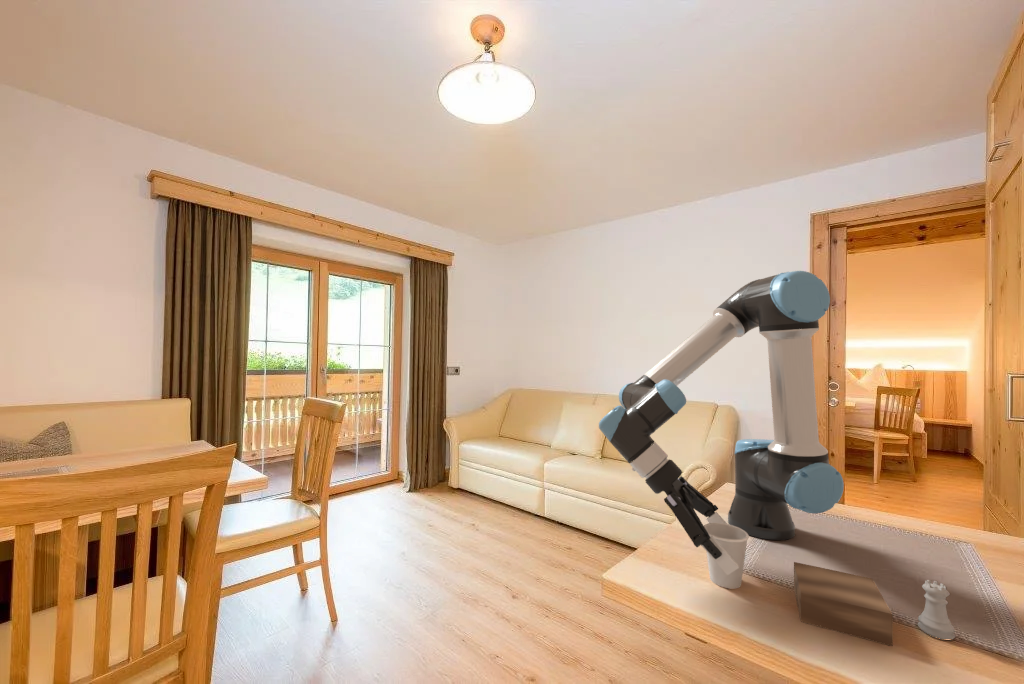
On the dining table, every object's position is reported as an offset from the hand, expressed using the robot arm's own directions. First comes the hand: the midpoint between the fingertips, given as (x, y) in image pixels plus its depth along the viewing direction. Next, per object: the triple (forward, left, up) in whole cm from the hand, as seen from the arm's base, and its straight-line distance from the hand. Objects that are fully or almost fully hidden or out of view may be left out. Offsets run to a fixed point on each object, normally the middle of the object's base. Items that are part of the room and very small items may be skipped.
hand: (734, 555), depth 84 cm
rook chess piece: (-19, +23, -6) cm, 30 cm away
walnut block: (-9, +14, -6) cm, 17 cm away
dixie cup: (+1, -1, -6) cm, 6 cm away
